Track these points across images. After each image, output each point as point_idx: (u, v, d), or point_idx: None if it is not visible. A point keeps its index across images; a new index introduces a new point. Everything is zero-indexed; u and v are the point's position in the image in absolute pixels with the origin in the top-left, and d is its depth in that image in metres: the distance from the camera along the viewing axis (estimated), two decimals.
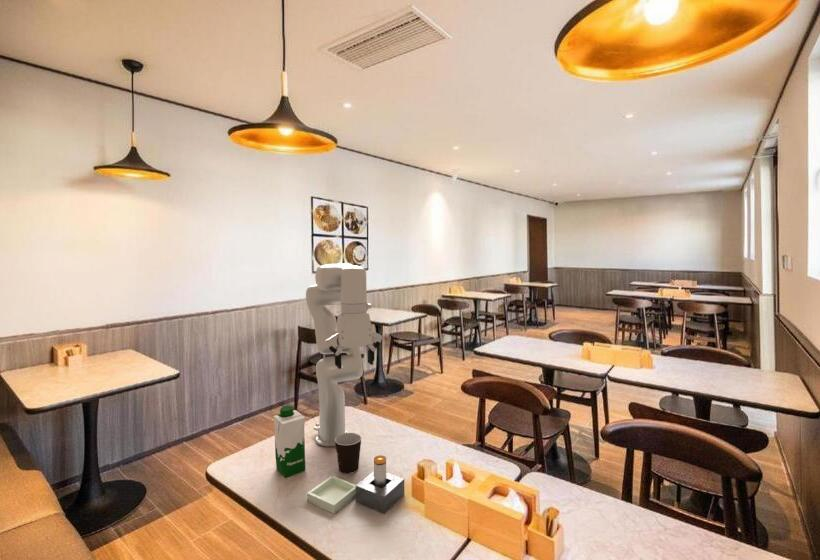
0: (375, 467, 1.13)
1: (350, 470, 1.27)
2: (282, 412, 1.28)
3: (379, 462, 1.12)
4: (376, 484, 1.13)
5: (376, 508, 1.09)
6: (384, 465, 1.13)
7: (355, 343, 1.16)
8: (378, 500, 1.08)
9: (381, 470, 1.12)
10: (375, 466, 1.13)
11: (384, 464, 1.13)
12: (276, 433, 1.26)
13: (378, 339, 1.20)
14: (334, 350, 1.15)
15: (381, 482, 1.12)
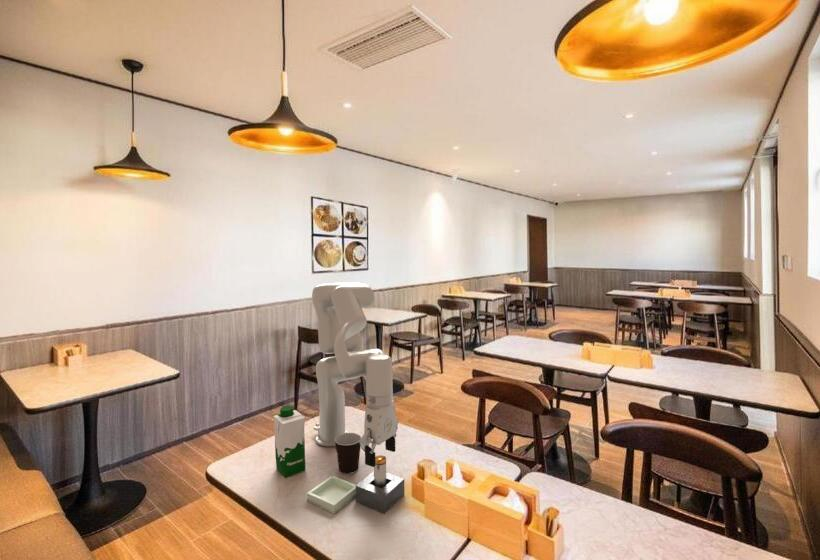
0: (375, 467, 1.13)
1: (350, 470, 1.27)
2: (282, 412, 1.28)
3: (379, 462, 1.12)
4: (376, 484, 1.13)
5: (376, 508, 1.09)
6: (384, 465, 1.13)
7: None
8: (378, 500, 1.08)
9: (381, 470, 1.12)
10: (375, 466, 1.13)
11: (384, 464, 1.13)
12: (276, 433, 1.26)
13: None
14: None
15: (381, 482, 1.12)
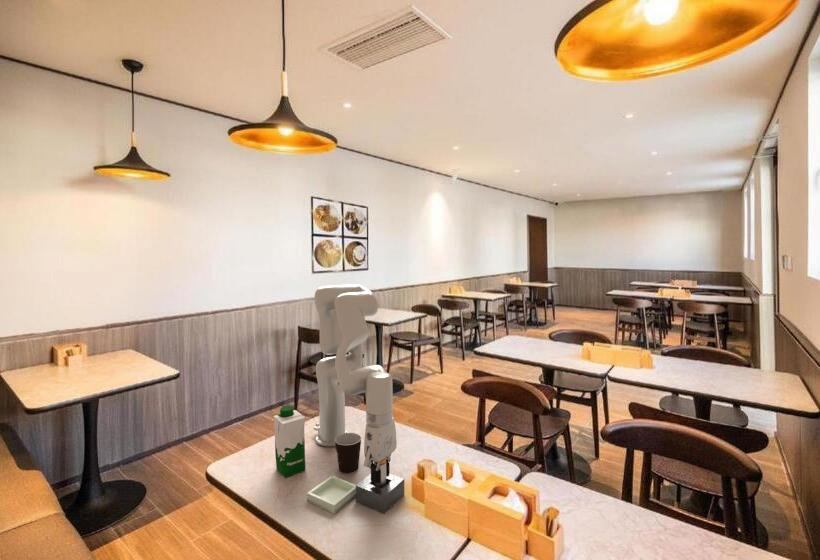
0: None
1: (350, 470, 1.27)
2: (282, 412, 1.28)
3: None
4: (376, 484, 1.13)
5: (376, 508, 1.09)
6: (384, 465, 1.13)
7: None
8: (378, 500, 1.08)
9: (381, 470, 1.12)
10: None
11: (384, 464, 1.13)
12: (276, 433, 1.26)
13: None
14: None
15: (381, 482, 1.12)
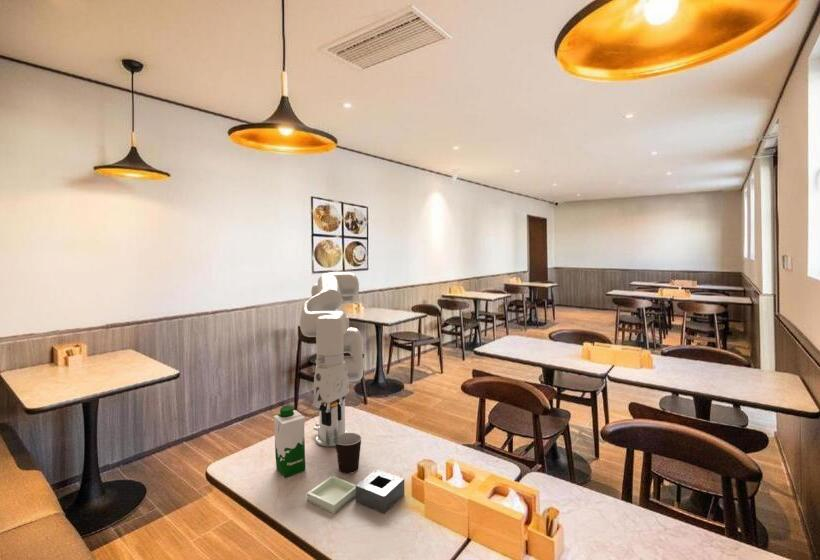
0: None
1: (350, 470, 1.27)
2: (282, 412, 1.28)
3: None
4: (327, 427, 1.12)
5: (376, 508, 1.09)
6: (335, 408, 1.12)
7: None
8: (378, 500, 1.08)
9: (332, 413, 1.11)
10: None
11: (335, 407, 1.12)
12: (276, 433, 1.26)
13: None
14: None
15: (331, 425, 1.12)
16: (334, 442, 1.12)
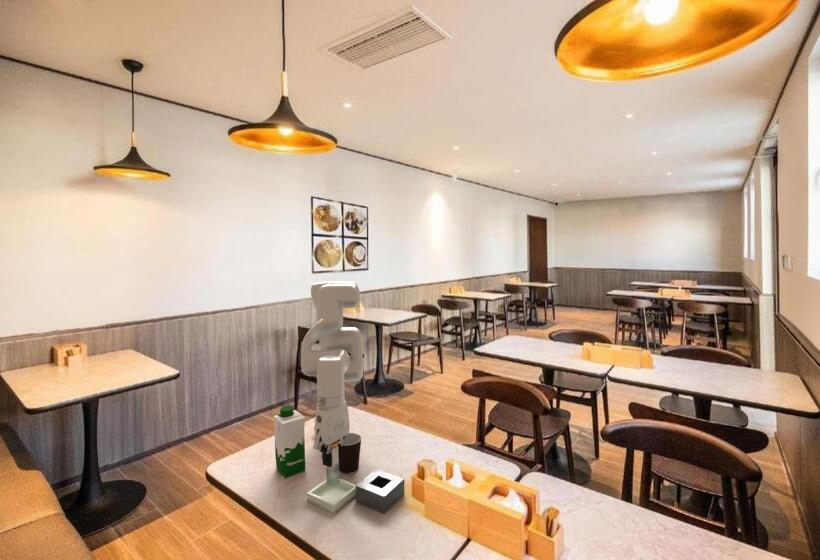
0: None
1: (350, 470, 1.27)
2: (282, 412, 1.28)
3: None
4: (328, 468, 1.13)
5: (376, 508, 1.09)
6: (335, 449, 1.13)
7: None
8: (378, 500, 1.08)
9: (333, 453, 1.12)
10: None
11: (336, 447, 1.13)
12: (276, 433, 1.26)
13: None
14: None
15: (332, 465, 1.12)
16: (335, 482, 1.13)
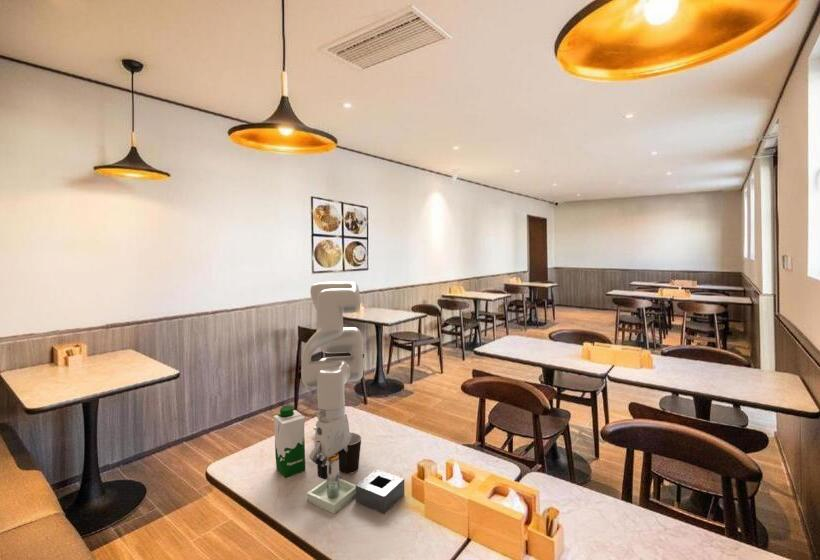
0: (327, 464, 1.13)
1: (350, 470, 1.27)
2: (282, 412, 1.28)
3: (331, 459, 1.12)
4: (328, 480, 1.13)
5: (376, 508, 1.09)
6: (336, 462, 1.13)
7: None
8: (378, 500, 1.08)
9: (333, 466, 1.13)
10: (327, 463, 1.13)
11: (336, 461, 1.13)
12: (276, 433, 1.26)
13: None
14: None
15: (333, 478, 1.13)
16: (335, 495, 1.13)
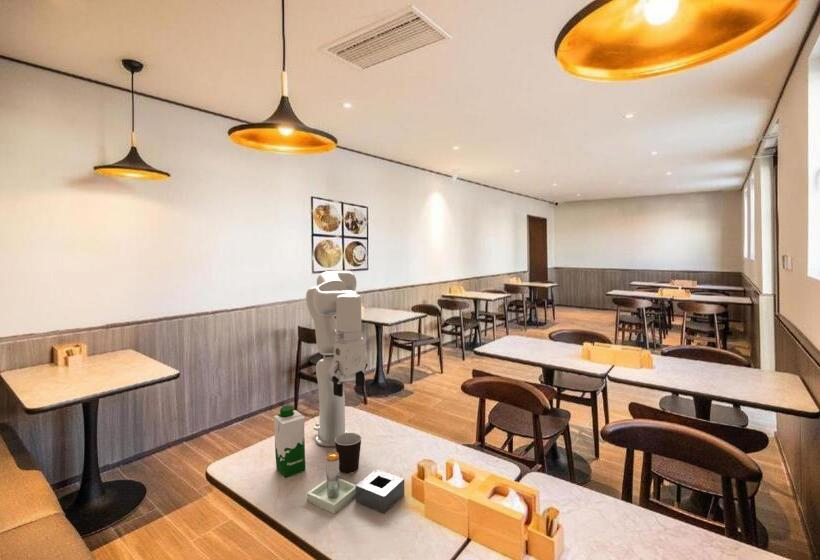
0: (327, 463, 1.13)
1: (350, 470, 1.27)
2: (282, 412, 1.28)
3: (331, 458, 1.12)
4: (328, 480, 1.13)
5: (376, 508, 1.09)
6: (336, 462, 1.13)
7: None
8: (378, 500, 1.08)
9: (333, 466, 1.13)
10: (327, 462, 1.13)
11: (336, 460, 1.13)
12: (276, 433, 1.26)
13: None
14: None
15: (333, 478, 1.13)
16: (335, 495, 1.14)
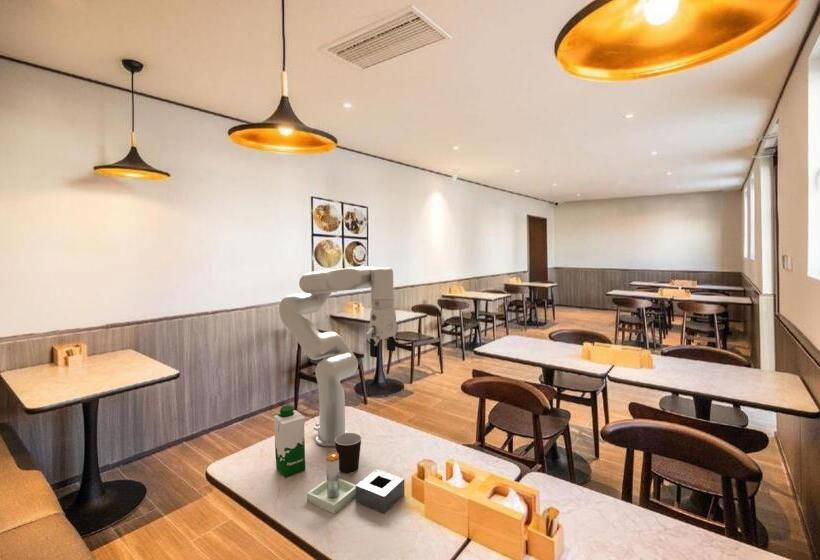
0: (327, 463, 1.13)
1: (350, 470, 1.27)
2: (282, 412, 1.28)
3: (331, 458, 1.12)
4: (328, 480, 1.13)
5: (376, 508, 1.09)
6: (336, 462, 1.13)
7: None
8: (378, 500, 1.08)
9: (333, 466, 1.13)
10: (327, 462, 1.13)
11: (336, 460, 1.13)
12: (276, 433, 1.26)
13: None
14: None
15: (333, 478, 1.13)
16: (335, 495, 1.14)
